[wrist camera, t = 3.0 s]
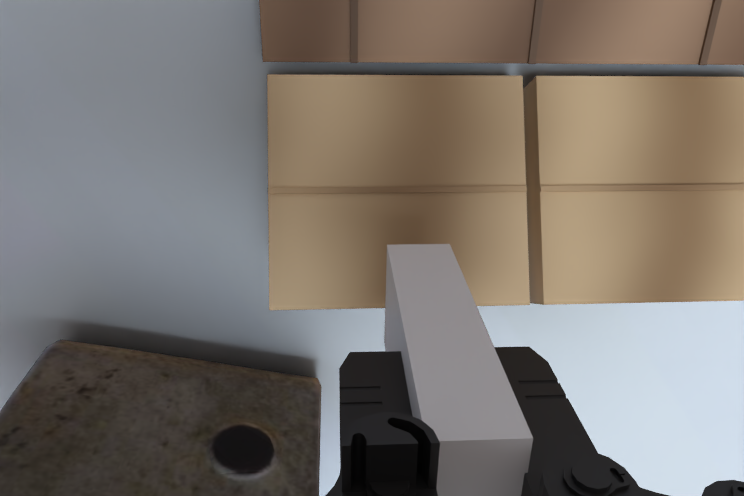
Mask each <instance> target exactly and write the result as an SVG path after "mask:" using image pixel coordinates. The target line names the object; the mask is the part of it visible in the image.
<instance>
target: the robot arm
mask: <svg viewBox="0 0 744 496" xmlns="http://www.w3.org/2000/svg"><path fill="white" fill-rule="evenodd" d="M384 343H385V350H386V352H350V353H349V354H348V356H347V358H346V359H345V361H344V362H343V364H342V365H341V367H340V369H339V373H340V458H341V469H340V475H339V478H338V480H337V482H336V484H335V486H334V487H333V488H332V489H331V490H330V491H329V492H328V494H327V495H326V496H669V495H664V494H659V493H656V492H652V491H649V490H646V489H642V488H640V487H639V486H638V485H637V483H636V481H635V480H634V479H633V478H632V476H631V475H630V474H629V473H628V472H627V471H626V469H625V468H624V467H622V466H621V465H619V464H618V463H616V462H615V461H613V460H612V459H610V458H609V457H606V456H603V455H601V454H598V453H597V451H596V449H595V447H594V445H593V443H592V442H591V440H590V438H589V436H588V434H587V433H586V431H585V429H584V427H583V425H582V423H581V422H580V420H579V418H578V416H577V414H576V413H575V411H574V409H573V407H572V405H571V403H570V402H569V400H568V399H566V394H565V393H564V391H563V389H562V387H561V385H560V383H558V382H557V378H556V376H555V374H554V373H553V371H552V369H551V367H550V365H549V363H548V362H547V361H546V360H545V359H543V358H542V357H541V356H540V355H538V354H537V353H536V352H535V351H534V350H532V349H531V348H530V347H494V346H493V343H492V341H491V339H490V336H489V334H488V332H487V329H486V327H485V325H484V322H483V320H482V318H481V315H480V313H479V311H478V308H477V306H476V304H475V301H474V299H473V297H472V294H471V292H470V290H469V287H468V285H467V283H466V280H465V278H464V276H463V273H462V271H461V269H460V266H459V264H458V262H457V260H456V257H455V255H454V253H453V250H452V248H451V246H450V244H397V245H387V264H386V301H385V337H384ZM702 496H744V482H741V481H736V480H727V481H716V482H714V483H713V484H711V485H709V486H707V487H706V488H705V489H704V492H703V494H702Z"/></svg>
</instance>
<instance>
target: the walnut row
mask: <svg viewBox="0 0 744 496" xmlns="http://www.w3.org/2000/svg"><path fill="white" fill-rule="evenodd" d="M259 5H260V22H261V39H262V56H263V62H350V63H358V62H390V63H528V64H536V63H552V64H698V65H707V64H713V65H744V0H259Z"/></svg>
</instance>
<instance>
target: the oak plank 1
mask: <svg viewBox="0 0 744 496" xmlns="http://www.w3.org/2000/svg"><path fill="white" fill-rule="evenodd" d="M267 102H268V218H269V310H307V309H355V308H385V301H386V264H387V245H397V244H450V246H451V248H452V250H453V253H454V255H455V257H456V260H457V262H458V264H459V266H460V269H461V271H462V273H463V276H464V278H465V280H466V283H467V285H468V287H469V290H470V292H471V294H472V297H473V299H474V301H475V304H476V306H500V305H530V295H529V263H528V231H527V200H526V192H527V186H526V168H525V136H524V105H523V76H484V75H276V74H267Z"/></svg>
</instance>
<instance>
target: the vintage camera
mask: <svg viewBox="0 0 744 496" xmlns="http://www.w3.org/2000/svg"><path fill="white" fill-rule="evenodd" d="M320 421H321V385H320V383H319V380H318V378H314V377H306V376H299V375H292V374H285V373H278V372H272V371H266V370H259V369H253V368H247V367H241V366H235V365H229V364H223V363H216V362H210V361H204V360H198V359H191V358H184V357H177V356H171V355H164V354H157V353H151V352H145V351H138V350H132V349H125V348H118V347H111V346H104V345H96V344H89V343H82V342H75V341H67V340H59V341H57V342H55V343H53V344H52V345H50V346H48V347H46V349H45V350H44V351H43V353H42V354H41V356H40V357H39V358H38V360H37V361H36V363H35V364H34V365H33V367H32V368H31V369H30V371H29V372H28V373H27V375H26V376H25V377H24V379H23V380H22V382H21V383H20V384H19V386H18V387H17V388H16V390H15V391H14V392H13V394H12V395H11V397H10V398H9V399H8V401H7V402H6V404H5V405H4V407H3V408H2V410H1V411H0V496H319V465H320Z"/></svg>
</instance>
